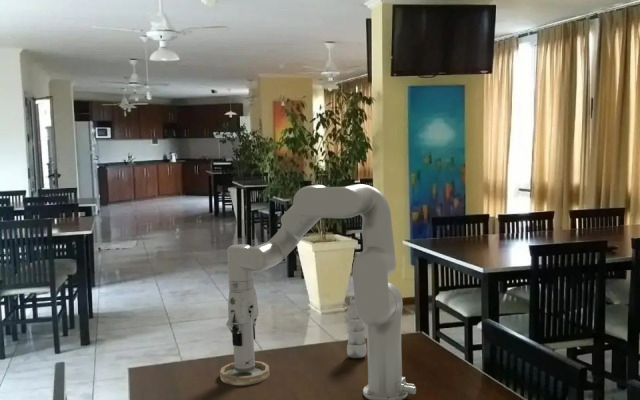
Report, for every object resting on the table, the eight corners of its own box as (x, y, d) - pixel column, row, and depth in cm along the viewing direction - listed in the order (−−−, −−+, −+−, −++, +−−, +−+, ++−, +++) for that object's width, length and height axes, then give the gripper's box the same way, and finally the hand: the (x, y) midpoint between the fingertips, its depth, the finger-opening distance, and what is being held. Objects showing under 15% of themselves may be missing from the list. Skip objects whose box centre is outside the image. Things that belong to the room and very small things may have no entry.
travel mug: (252, 372, 188) (249, 308, 186) (231, 372, 189) (228, 307, 187) (258, 365, 194) (255, 303, 192) (238, 365, 195) (235, 302, 194)
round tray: (278, 371, 195) (278, 364, 195) (251, 388, 182) (251, 380, 181) (239, 365, 202) (238, 358, 202) (210, 380, 188) (210, 373, 188)
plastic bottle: (343, 356, 207) (341, 297, 205) (361, 352, 210) (359, 294, 208) (352, 361, 201) (350, 301, 200) (370, 358, 204) (369, 298, 202)
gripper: (234, 292, 180) (237, 352, 181) (266, 280, 195) (269, 335, 197) (214, 290, 183) (217, 349, 185) (247, 278, 199) (249, 333, 200)
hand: (244, 341), depth 191 cm, fingers closed on travel mug, 6 cm apart
